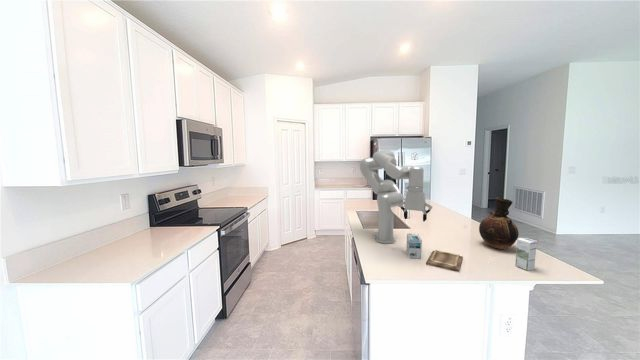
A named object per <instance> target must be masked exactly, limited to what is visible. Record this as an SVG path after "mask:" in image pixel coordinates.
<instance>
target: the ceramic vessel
mask: <svg viewBox="0 0 640 360" xmlns="http://www.w3.org/2000/svg"><path fill="white" fill-rule="evenodd" d="M513 203H514V201H512V200H510V199H508V198H501V197H495V209H494V211H490V212H489V213H490V214H489V215H488V216H487V217H485V218H483V220H481V222H480V223H479V226H478V231H479V235H480V237H481V238H482V240H483V241H484V242H485V244H486V245H488V246H489V247H491V248H494V249H500V250H505V249H508V248H510V247H512V246H513V245H514V244H515V243H517V239H519V229H518V227H517V226H516V224H515V222H514V221H513V220H512V219H511V218H510V217H509V214H510V211H509V209H510V207H511V206H512V205H513Z"/></svg>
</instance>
